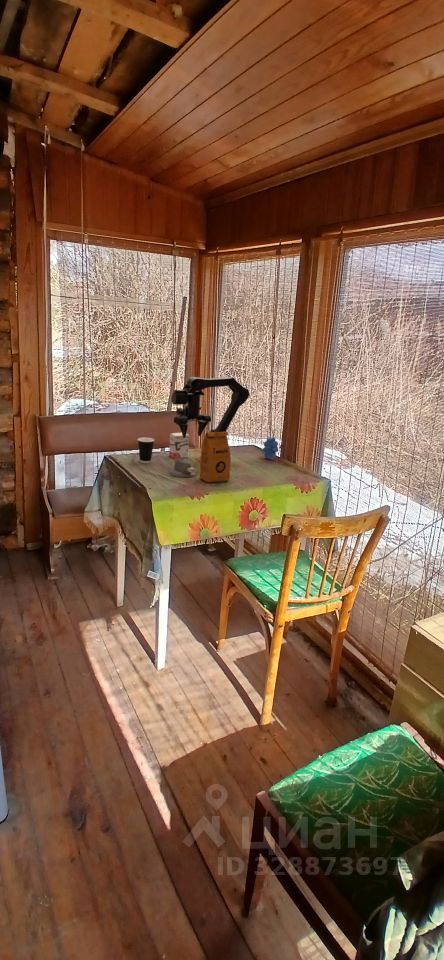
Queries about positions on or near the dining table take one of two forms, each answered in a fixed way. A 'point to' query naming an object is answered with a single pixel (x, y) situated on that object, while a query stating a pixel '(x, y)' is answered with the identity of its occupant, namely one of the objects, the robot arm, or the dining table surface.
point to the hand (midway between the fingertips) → (191, 436)
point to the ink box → (178, 445)
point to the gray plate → (178, 474)
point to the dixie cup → (145, 449)
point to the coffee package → (215, 457)
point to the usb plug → (183, 466)
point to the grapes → (270, 448)
